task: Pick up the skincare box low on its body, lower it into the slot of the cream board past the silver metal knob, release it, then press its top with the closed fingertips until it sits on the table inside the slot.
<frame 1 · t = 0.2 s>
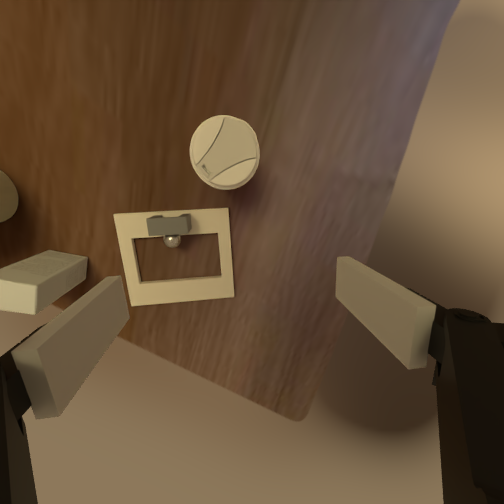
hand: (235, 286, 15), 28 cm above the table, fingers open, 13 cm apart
silver metal knob: (171, 233, 37), point 4 cm above the table, slide at 0.0 cm
paper cup: (225, 163, 39), on the table
socket board: (179, 257, 42), on the table
skincare box: (69, 264, 41), on the table
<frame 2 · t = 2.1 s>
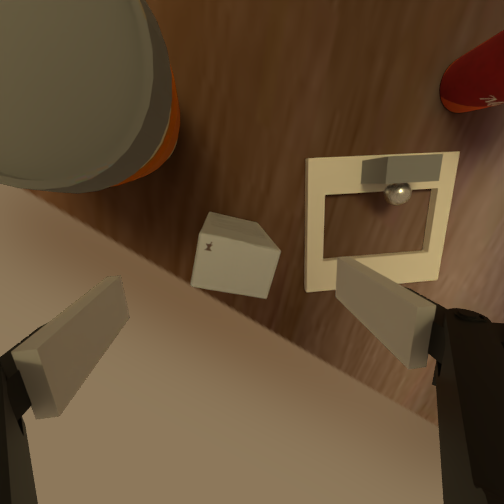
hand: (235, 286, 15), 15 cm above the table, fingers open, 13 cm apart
silver metal knob: (398, 183, 26), point 4 cm above the table, slide at 0.0 cm
paper cup: (461, 85, 27), on the table
reusable coffee cup: (134, 125, 25), on the table
socket board: (374, 224, 30), on the table
skincare box: (230, 233, 29), on the table
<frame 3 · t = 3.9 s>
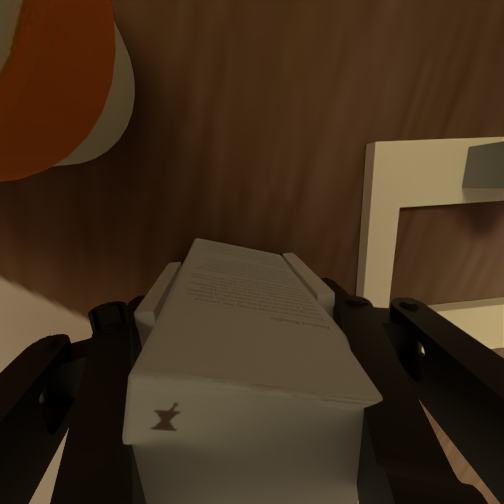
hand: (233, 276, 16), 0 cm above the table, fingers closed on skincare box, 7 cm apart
reusable coffee cup: (47, 76, 13), on the table
socket board: (470, 253, 18), on the table
skincare box: (234, 273, 17), on the table, touching gripper
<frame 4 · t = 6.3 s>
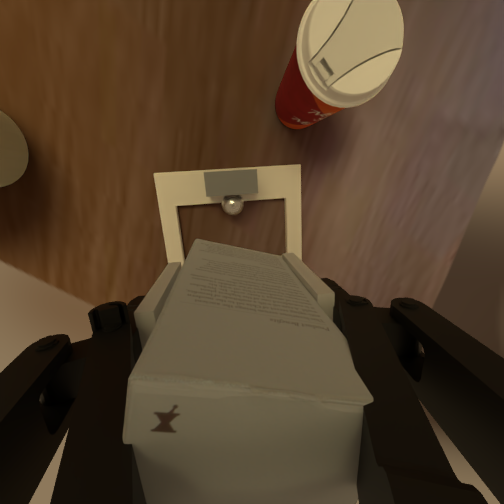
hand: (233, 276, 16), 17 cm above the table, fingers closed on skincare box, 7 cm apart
silver metal knob: (232, 195, 28), point 4 cm above the table, slide at 0.0 cm
paper cup: (297, 104, 30), on the table
socket board: (234, 231, 33), on the table
skincare box: (233, 274, 17), point 16 cm above the table, touching gripper
when the fingers open (2 cm above the table, at t = 8.9 s): skincare box drops 1 cm, resting in socket board.
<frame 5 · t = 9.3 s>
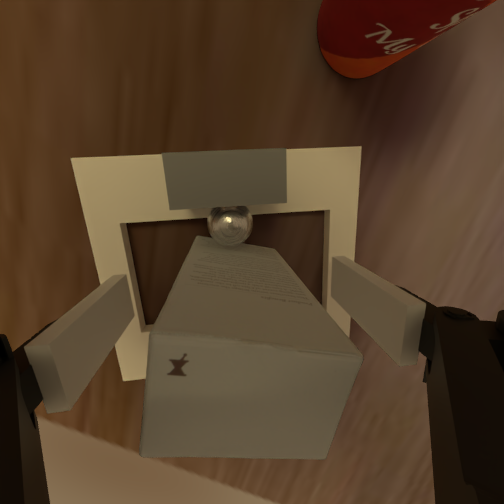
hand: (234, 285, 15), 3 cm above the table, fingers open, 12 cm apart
silver metal knob: (228, 205, 14), point 4 cm above the table, slide at 0.0 cm
paper cup: (358, 28, 15), on the table
socket board: (232, 268, 18), on the table
skincare box: (233, 267, 18), resting in socket board
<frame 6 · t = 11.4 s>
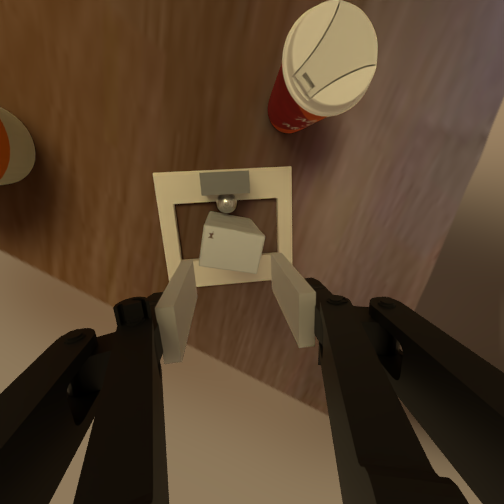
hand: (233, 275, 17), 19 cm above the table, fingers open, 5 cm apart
silver metal knob: (225, 194, 30), point 3 cm above the table, slide at 0.0 cm
paper cup: (288, 110, 32), on the table
socket board: (228, 228, 35), on the table
skincare box: (228, 228, 35), resting in socket board
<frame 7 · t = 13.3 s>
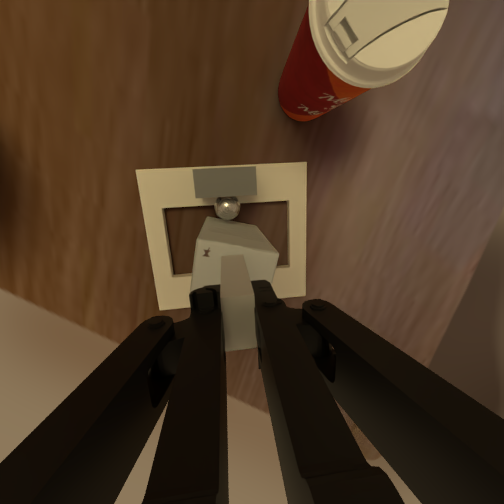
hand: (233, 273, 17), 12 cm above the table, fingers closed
silver metal knob: (226, 196, 24), point 3 cm above the table, slide at 0.0 cm
paper cup: (303, 93, 26), on the table
socket board: (229, 237, 29), on the table
skincare box: (229, 237, 29), resting in socket board, touching gripper
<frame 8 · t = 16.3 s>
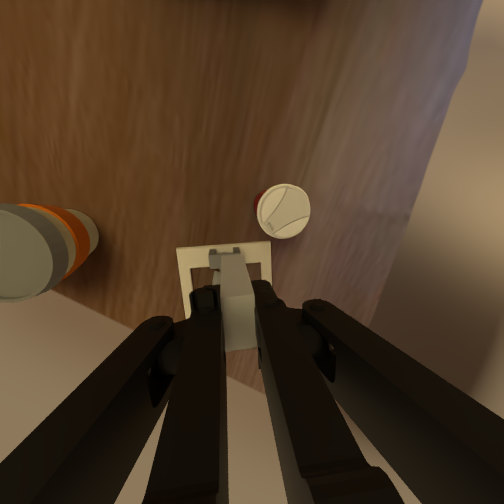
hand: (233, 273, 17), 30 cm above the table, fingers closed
silver metal knob: (225, 264, 45), point 4 cm above the table, slide at 0.0 cm
paper cup: (268, 204, 47), on the table
reusable coffee cup: (72, 233, 44), on the table
socket board: (227, 282, 50), on the table
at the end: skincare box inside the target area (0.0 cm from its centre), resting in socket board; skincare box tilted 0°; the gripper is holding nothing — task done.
